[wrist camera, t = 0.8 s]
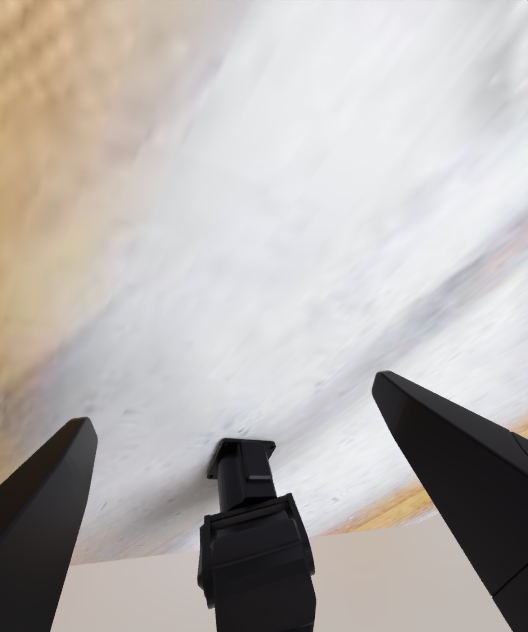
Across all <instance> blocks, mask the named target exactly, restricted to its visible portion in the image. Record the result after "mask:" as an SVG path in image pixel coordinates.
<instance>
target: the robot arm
mask: <svg viewBox="0 0 528 632" xmlns="http://www.w3.org/2000/svg"><path fill="white" fill-rule="evenodd" d="M372 395H373V398H374V400H375V402H376V404H377V406H378V408H379V410H380V412H381V414H382V416H383V418H384V420H385V422H386V424H387V426H388V428H389V430H390V432H391V434H392V436H393V438H394V439H395V441H396V443H397V444H398V446H399V448H400V449H401V451H402V453H403V454H404V456H405V457H406V459H407V461H408V462H409V464H410V466H411V467H412V469H413V470H414V472H415V474H416V475H417V477H418V478H419V480H420V482H421V483H422V485H423V487H424V488H425V490H426V491H427V493H428V495H429V496H430V498H431V500H432V501H433V503H434V504H435V506H436V508H437V509H438V511H439V513H440V514H441V516H442V517H443V519H444V521H445V522H446V524H447V525H448V527H449V529H450V530H451V532H452V534H453V535H454V537H455V538H456V540H457V542H458V543H459V545H460V547H461V548H462V549H463V551H464V553H465V555H466V556H467V558H468V560H469V561H470V563H471V564H472V566H473V568H474V569H475V571H476V572H477V574H478V576H479V577H480V579H481V581H482V582H483V584H484V585H485V587H486V589H487V590H488V592H489V593H490V595H491V596H492V599H493V600H494V602H495V604H496V605H497V607H498V608H499V610H500V612H501V613H502V615H503V617H504V618H505V620H506V621H507V623H508V624H509V626H510V628H511V630H512V631H513V632H528V439H526V438H524V437H522V436H520V435H518V434H516V433H514V432H510V431H509V430H508V429H506V428H504V427H502V426H500V425H498V424H496V423H494V422H492V421H490V420H488V419H486V418H484V417H482V416H480V415H478V414H476V413H474V412H472V411H470V410H468V409H466V408H464V407H462V406H460V405H458V404H456V403H454V402H452V401H450V400H448V399H446V398H444V397H442V396H440V395H438V394H436V393H434V392H432V391H430V390H428V389H426V388H424V387H422V386H420V385H418V384H416V383H414V382H412V381H410V380H408V379H405V378H403V377H401V376H399V375H397V374H395V373H393V372H391V371H388V370H387V371H380V372H377V374H376V376H375V379H374V383H373V387H372ZM97 444H98V438H97V434H96V432H95V430H94V427H93V425H92V422H91V420H90V418H88V417H80V418H74V419H71V420H70V421H68V422H67V423H66V424H65V425H64V426H63V427H62V428H61V429H60V430H59V431H57V432H56V433H55V434H54V435H53V436H52V437H51V438H50V439H49V440H48V441H47V442H46V443H45V444H44V445H42V446H41V447H40V448H39V449H38V450H37V451H36V452H35V453H34V454H33V455H32V456H31V457H30V458H29V459H28V460H26V461H25V462H24V463H23V464H22V465H21V466H20V467H19V468H18V469H17V470H16V471H15V472H14V473H13V474H11V475H10V476H9V477H8V478H7V479H6V480H5V481H4V482H3V483H2V484H1V485H0V632H50V630H51V627H52V623H53V619H54V616H55V612H56V609H57V606H58V602H59V598H60V595H61V592H62V588H63V585H64V581H65V578H66V574H67V571H68V567H69V564H70V560H71V557H72V553H73V550H74V547H75V543H76V540H77V536H78V533H79V529H80V526H81V522H82V519H83V515H84V512H85V508H86V504H87V500H88V495H89V490H90V484H91V478H92V473H93V467H94V461H95V455H96V450H97ZM275 448H276V445H275V442H273V441H259V440H244V439H229V438H226V439H223V440H222V441H221V444H220V446H219V448H218V450H217V452H216V454H215V456H214V459H213V461H212V463H211V465H210V467H209V469H208V472H207V478H208V479H218V491H219V503H220V513H218V514H214V515H211V516H210V515H206V516H204V525H202V526H201V527H200V556H199V566H198V576H197V577H198V578H197V581H198V586H199V587H200V588H201V589H202V590H203V591H204V595H205V597H206V600H207V606H208V608H209V609H212V608H215V614H216V627H217V632H313V627H314V620H315V609H316V596H315V592H314V588H313V584H312V580H311V575H314V574H315V567H314V561H313V556H312V551H311V547H310V543H309V540H308V536H307V533H306V530H305V528H304V525H303V522H302V520H301V517H300V514H299V512H298V509H297V507H296V504H295V501H294V499H293V496H292V493H288V494H286V495H285V496H281V497H277V495H276V491H275V487H274V483H273V479H272V473H271V469H270V465H269V461H268V460H269V458H270V456H271V455H272V453H273V451H274V449H275Z"/></svg>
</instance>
